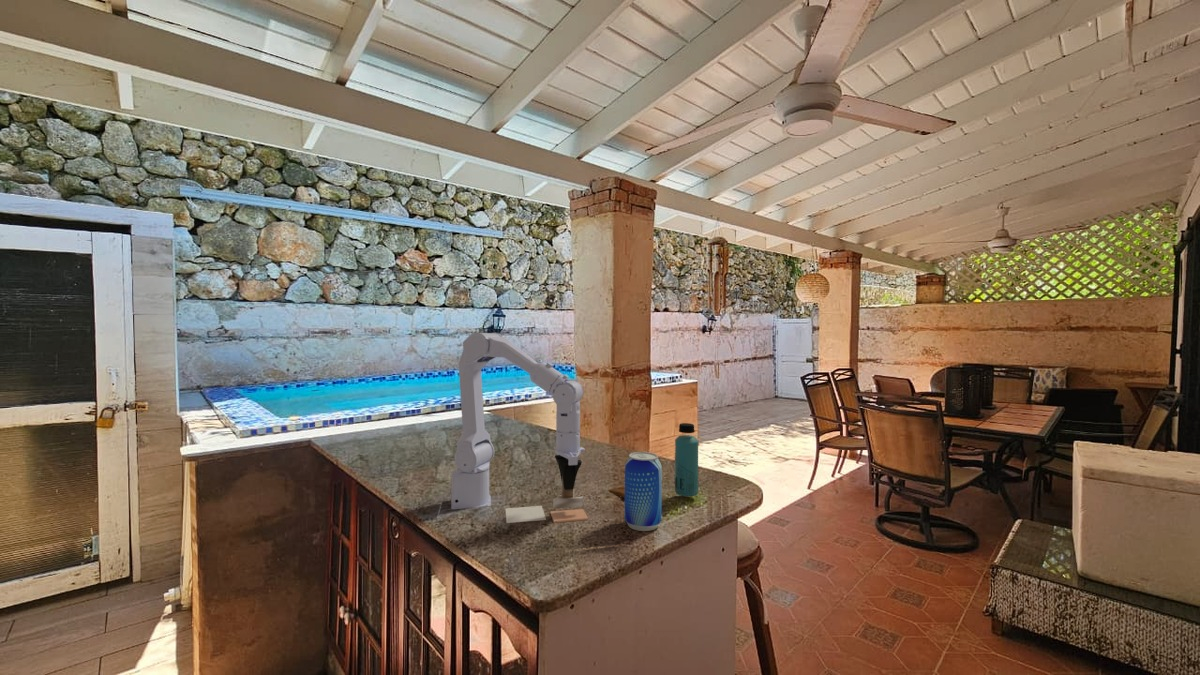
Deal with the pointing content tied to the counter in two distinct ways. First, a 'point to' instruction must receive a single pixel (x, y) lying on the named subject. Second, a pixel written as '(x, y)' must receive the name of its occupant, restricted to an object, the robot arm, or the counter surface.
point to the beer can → (643, 491)
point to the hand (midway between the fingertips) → (567, 487)
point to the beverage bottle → (686, 462)
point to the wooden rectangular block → (567, 499)
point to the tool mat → (524, 514)
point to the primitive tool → (619, 491)
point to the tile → (568, 515)
